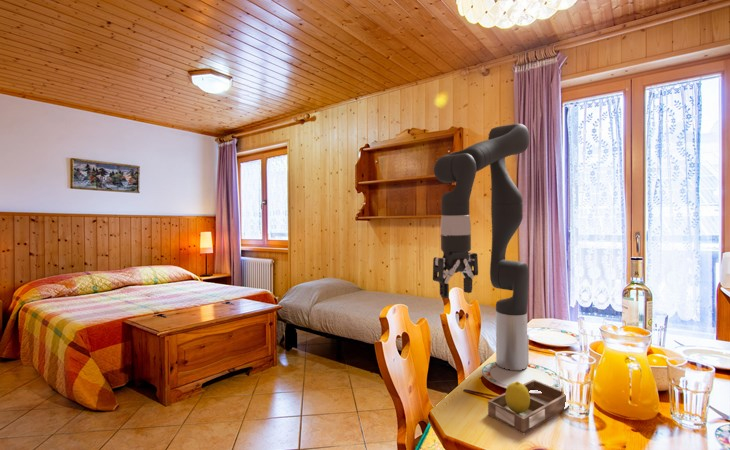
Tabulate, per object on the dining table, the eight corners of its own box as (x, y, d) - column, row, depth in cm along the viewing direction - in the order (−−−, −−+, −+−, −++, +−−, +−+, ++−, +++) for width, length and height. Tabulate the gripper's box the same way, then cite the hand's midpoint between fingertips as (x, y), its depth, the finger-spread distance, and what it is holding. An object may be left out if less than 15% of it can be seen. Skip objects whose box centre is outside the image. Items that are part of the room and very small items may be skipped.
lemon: (532, 421, 88) (532, 388, 88) (507, 419, 89) (507, 386, 89) (526, 408, 94) (526, 377, 93) (503, 407, 95) (503, 376, 94)
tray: (533, 392, 103) (533, 379, 103) (569, 407, 95) (569, 394, 95) (487, 415, 93) (487, 401, 93) (524, 434, 85) (524, 419, 84)
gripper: (463, 230, 105) (464, 288, 106) (425, 233, 97) (426, 296, 98) (485, 231, 98) (486, 293, 99) (446, 235, 91) (447, 302, 91)
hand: (456, 295), depth 99 cm, fingers open, 8 cm apart
